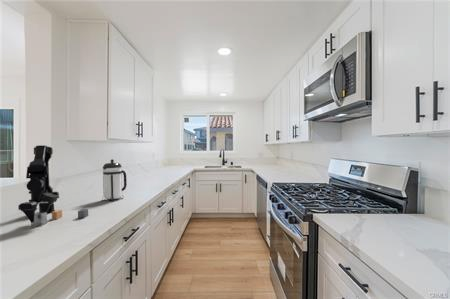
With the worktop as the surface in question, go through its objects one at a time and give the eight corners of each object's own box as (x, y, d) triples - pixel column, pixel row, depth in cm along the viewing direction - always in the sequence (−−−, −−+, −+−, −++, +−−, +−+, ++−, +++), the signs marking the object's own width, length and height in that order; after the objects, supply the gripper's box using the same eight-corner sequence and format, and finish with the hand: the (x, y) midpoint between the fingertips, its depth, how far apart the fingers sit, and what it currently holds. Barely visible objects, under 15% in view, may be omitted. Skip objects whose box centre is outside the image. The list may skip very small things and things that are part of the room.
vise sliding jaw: (51, 219, 128) (51, 212, 128) (57, 216, 133) (57, 209, 133) (56, 219, 128) (56, 212, 128) (62, 216, 133) (62, 209, 133)
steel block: (30, 226, 117) (30, 214, 117) (36, 224, 121) (36, 212, 121) (41, 226, 118) (41, 214, 118) (46, 223, 122) (46, 211, 122)
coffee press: (124, 200, 172) (123, 159, 171) (99, 202, 167) (98, 160, 167) (126, 196, 188) (126, 158, 188) (104, 197, 184) (103, 159, 184)
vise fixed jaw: (78, 218, 129) (77, 211, 129) (82, 215, 134) (82, 208, 134) (83, 218, 130) (83, 211, 130) (88, 215, 135) (88, 208, 135)
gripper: (42, 191, 111) (43, 224, 111) (65, 185, 130) (66, 213, 130) (17, 192, 110) (18, 225, 110) (43, 185, 129) (44, 214, 129)
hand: (38, 219), depth 120 cm, fingers open, 9 cm apart
